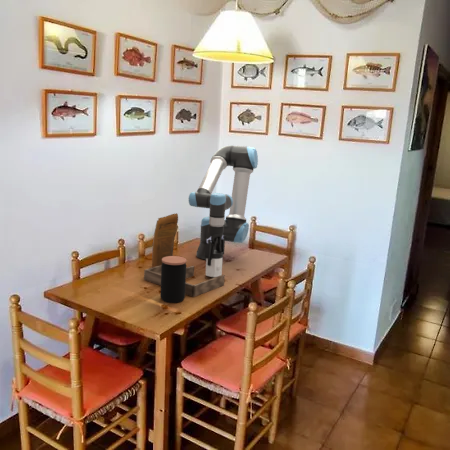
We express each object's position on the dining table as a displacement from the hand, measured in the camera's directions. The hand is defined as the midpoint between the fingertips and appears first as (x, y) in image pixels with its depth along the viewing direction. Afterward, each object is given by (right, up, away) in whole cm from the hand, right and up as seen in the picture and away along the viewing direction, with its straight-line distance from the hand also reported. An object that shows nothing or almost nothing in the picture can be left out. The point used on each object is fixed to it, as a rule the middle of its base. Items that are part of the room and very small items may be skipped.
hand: (213, 270), depth 233 cm
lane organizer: (-14, -5, -9) cm, 17 cm away
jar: (0, -3, +1) cm, 3 cm away
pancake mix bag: (-27, 0, +15) cm, 31 cm away
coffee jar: (-17, -10, -30) cm, 36 cm away
